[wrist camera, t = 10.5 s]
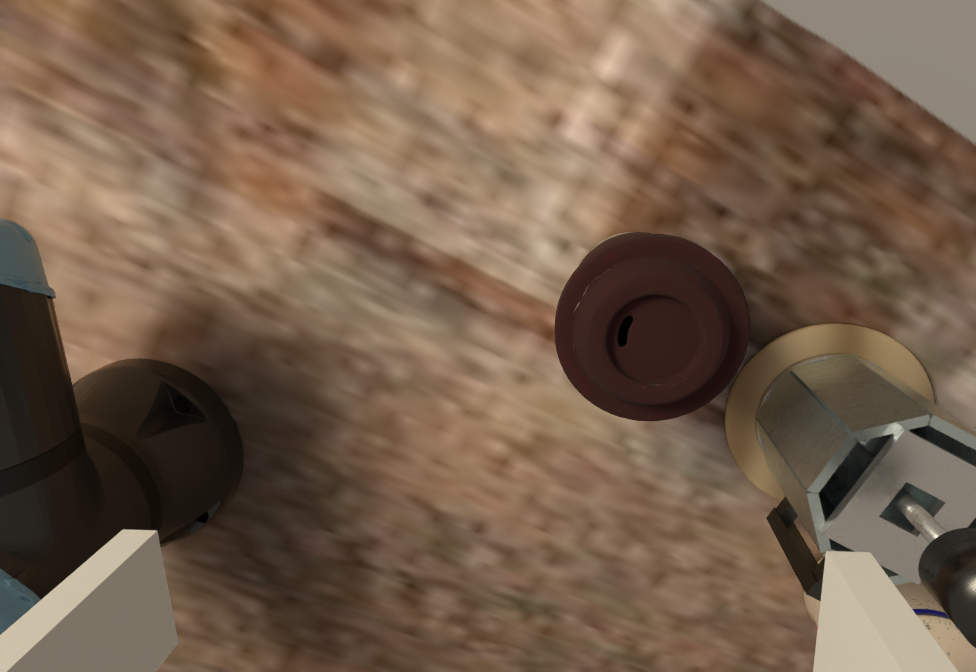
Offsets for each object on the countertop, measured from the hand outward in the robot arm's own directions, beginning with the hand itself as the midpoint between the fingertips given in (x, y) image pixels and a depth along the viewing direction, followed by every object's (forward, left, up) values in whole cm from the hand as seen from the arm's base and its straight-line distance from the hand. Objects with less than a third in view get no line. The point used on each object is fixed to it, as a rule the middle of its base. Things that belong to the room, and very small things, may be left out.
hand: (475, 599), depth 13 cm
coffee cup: (+6, -1, -37) cm, 37 cm away
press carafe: (+19, -12, -36) cm, 43 cm away
